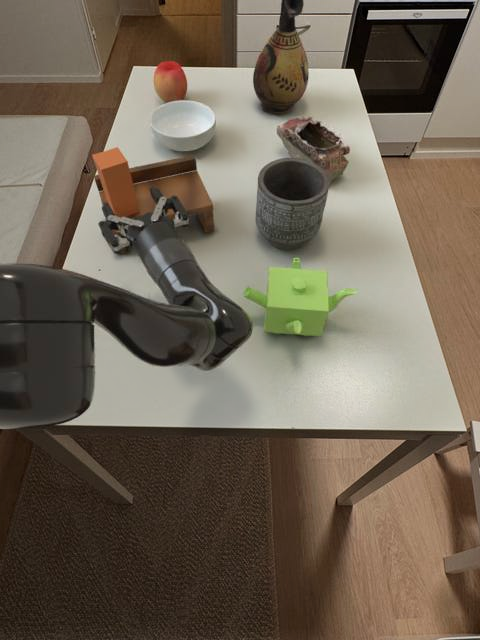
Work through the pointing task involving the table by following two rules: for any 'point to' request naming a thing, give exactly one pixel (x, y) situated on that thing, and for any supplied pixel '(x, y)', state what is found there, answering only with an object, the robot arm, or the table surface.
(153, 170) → the shelf
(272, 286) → the kettle
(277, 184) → the planter
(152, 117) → the cereal bowl
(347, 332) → the table surface
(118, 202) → the carton
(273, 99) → the ceramic jug
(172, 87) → the apple
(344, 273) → the table surface
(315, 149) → the decorative box
